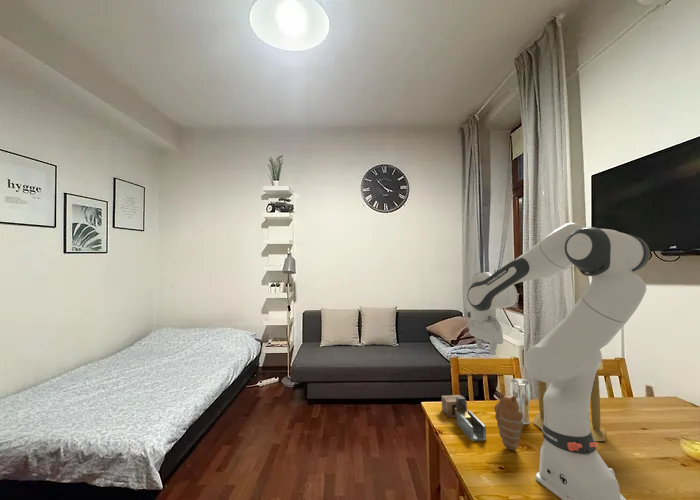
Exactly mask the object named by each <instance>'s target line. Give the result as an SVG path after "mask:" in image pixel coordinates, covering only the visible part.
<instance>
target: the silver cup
mask: <svg viewBox="0 0 700 500" xmlns="http://www.w3.org/2000/svg"><path fill="white" fill-rule="evenodd" d="M509 385H510V387H509V389H510V391H509V392H510V396H516V400H517V402H518V405H519V409H520V410H521V411H522V413H523V418H522V422H523V425H529V424H530V423H531V418H530V413H529V412H530V411H529V410H530V409H529V408H530V404H531V386H530V381H528V380H526V379H522V378H511V379H510V384H509Z"/></svg>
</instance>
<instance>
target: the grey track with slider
mask: <svg viewBox="0 0 700 500" xmlns="http://www.w3.org/2000/svg"><path fill="white" fill-rule="evenodd" d="M467 413H468V414H469V415H470V416H471V419H472V425H471V424H470V423H469V422H468V421H467V419H466V418H465V417H464V416H463V415H462V414H461V413H460V412H459V411H457V417H456V425H457V424H458V425H457V426H458V428H459V429H460V428H461V429H462V430H463V431H464V432H463V431H462V430H461V429H460V430H461V431H462V432H463V434H466V435H467V436H468V437H469V438H468V437H467V436H466V435H465V436H466V437H467V438H468V440H469V441H470V440H471V441H478V442H484V441H483V440H486V441H487V427H486V425H485V424H484V422H482V421H481V419H479V418H478V417H477V416H476V415H475V414H474V413H473V412H472V411H471V410H470V409H467ZM480 440H482V441H480ZM471 441H470V442H471Z"/></svg>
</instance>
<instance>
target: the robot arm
mask: <svg viewBox="0 0 700 500" xmlns="http://www.w3.org/2000/svg"><path fill="white" fill-rule="evenodd" d="M650 255H651V249H650V248H649V245H648V244H647V242H646V241H644V240H643V239H642V238H640V237H638V236H635V235H633V234H630V233H624V232H620V231H618V230H615V229H608V228H599V227H591V226H590V227H586V226H585V225H583V224H581V223H577V222H569V223H568V222H567V223H565V224H564V225H562V226H560V227H558V228H557V229H555V230H553V231H552V232H550V233H549V234H547V235H546V236H545V237H543V238H542V239H541V240H540V241H538V242H537V243H536V244H535V245H533V246H532V247H531V248H530V249H528V250H527V251H526V252H524V253H523V254H521V255H519V256H518V257H517V258H515V259H514V260H512V261H510V262H508V263H507V264H505V265H504V266H502V267H501V268H500V269H498V270H497V271H495V272H494V273H492V272H488V271H484V272H477V273H475V274H473V275H472V276H471V277H470V284H469V285H470V286H469V288H468V290H467V300H468V303H469V304H470V307H471V308H470V310H469V311H467V312H466V317H467V318H468V319H467V324H468V326H467V327H468V333H469V334H470V336H472V337H474V340H475V343H476V348H477V350H483V349H484V344H483V342H482V341H484V342H487V343H489V347H490V348H489V349H488V354H490V355H491V356H495V355H496V350H497V348H498V345H503V343H504V336H503V328H502V325H501V323H500V322H499V321H498V318H497V310H498V309H507V308H511V307H513V306H514V305H516V304H517V302H518V299H519V293H518V292H519V291H518V289H517V287H516V286H515V285H516V284H519V283H523V282H528V281H534V280H542V279H549V278H551V277H554V276H557V275H560V274H561V273H563V272H564V271H566V270H568V269H569V268H571V267H572V266H573V265H574V266H575V267H576V268H577V269H578V270H579V272H580V273H581V274H582V275H583V276H587V277H591V282H590V284H589V286H588V287H587V288H586V290H585V291H584V293H583V294H582V295H581V296H580V298H579V299H578V301H577V302H576V303H575V304H574V306H573V307H572V309H571V310H570V311H569V312H568V314H567V315H566V316H565V317H564V318H563V320H561V321H560V322H559V323H558V324H557V325H556V326H555V327H554V328H553V329H551V330H550V331H549V332H548V333H547V334H546V335H545V336H544V337H543V338H541V340H539V342H537V343H536V344H534V345H533V346H532V347H531V348H529V349H528V350H527V351H526V353H525V355H524V364H525V368H526V370H527V372H528V373H529V374H530V376H532V377H533V379H535V380H537V382H538V381H541V382H546V384H547V383H549V385H548V387H547V388H546V392H545V394H544V398H543V402H544V422H543V426H542V430H541V431H542V436H543V438H544V439H543V442H542V444H541V447H540V451H539V464H538V465H539V466H538V472H536V475H535V480H536V481H537V482H539V483H540V484H541V485H542V486H544V487H545V488H546V489H547V490H549V491H551V492H552V493H553V494H554V495H556V496H557V497H558V498H560V499H561V500H627V499H626V498H625V497H624V496H623V494H621V491H620V490H621V489H620V485H619V482H618V480H617V478H616V473H615V471H614V469H613V468H612V467H611V468H610V467H608V465H607V463H605V461H604V459H603V458H602V457H601V455H600V454H599V453H598V451H597V448H598V447H599V445H598V444H599V441H594V438H593V436H592V433H591V431H590V421H591V420H590V404H591V400H590V396H591V391H592V387H593V382H594V378H595V374H596V371H597V369H598V367H599V366H600V364H601V363H603V355H602V351H601V349H603V347H605V346H607V345H609V343H610V342H611V341H612V340H613V339H614V337H615V336H616V335H617V334H618V333H619V332H620V331H621V329H622V328H623V327H624V326H625V325H626V323H627V322H628V321H629V320H630V319H631V317H632V316H633V315H634V313H635V312H636V310H637V309H638V307H639V306H640V304H641V302H642V300H643V299H644V297H645V295H646V291H647V284H646V283H645V281H644V280H643V279H642V278H641V276H640V275H638V274H637V273H636V272H637V271H639V270H642V269H643V268H644V267H645V266H646V265H647V264H648V262H649V260H650Z"/></svg>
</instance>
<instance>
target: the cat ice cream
mask: <svg viewBox="0 0 700 500" xmlns="http://www.w3.org/2000/svg"><path fill="white" fill-rule="evenodd" d="M499 396H500V397H499V398H500V399H499V401H498V403H496V404H495V405H494V409H493V410H494V413H495V414H494V415H495V420H496V421H497V423H496V426H497V428H498V432H499V437H500V438H501V442H502V445H503V446H504V447H505V448H506V449H507V450H510V451H516V450H518V448H519V443H520V442H521V441H520V440H521V435H522V429H523V427H524V424H523V422H522V418H523V413H522V411H521V410H520V409H519V405H518V402H517V400H516V396H511V394H510V395H509V394H506V395H505V394H504V392H502V391H500V393H499Z"/></svg>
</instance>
